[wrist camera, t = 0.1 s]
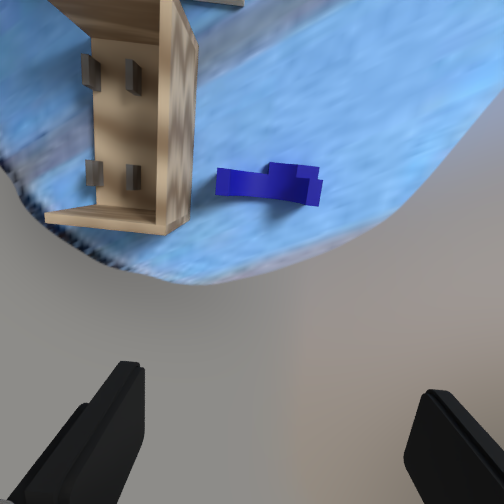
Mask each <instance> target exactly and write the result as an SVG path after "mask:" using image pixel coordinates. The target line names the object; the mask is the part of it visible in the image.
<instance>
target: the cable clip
mask: <svg viewBox="0 0 504 504" xmlns="http://www.w3.org/2000/svg"><path fill="white" fill-rule="evenodd" d="M318 173H319V167H314V166H305V165H296V164H284V163H274V162H270V163H269V171H268V174H262V173H254V172H246V171H238V170H232V169H224V168H217V179H216V192H215V195H222V196H252V197H262V198H271V199H278V200H285V201H291V202H296V203H301V204H304V205H309V206H318V207H319V201H320V195H321V189H322V183H323V180H319V179H318Z"/></svg>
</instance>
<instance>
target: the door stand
mask: <svg viewBox="0 0 504 504" xmlns="http://www.w3.org/2000/svg"><path fill="white" fill-rule="evenodd" d="M195 1H203V2H212V3H220V4H228V5H236V6H244V0H195Z"/></svg>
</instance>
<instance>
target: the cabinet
mask: <svg viewBox="0 0 504 504" xmlns="http://www.w3.org/2000/svg"><path fill="white" fill-rule="evenodd" d="M48 1H49V2H50V3H51V4H53V5H54V6H55V7H56V8H57V9H58V10H60V11H61V12H62V13H63V14H64V15H65V16H67V17H68V18H69V19H70V20H71V21H72V22H73V23H75V24H76V25H77V26H78V27H79V28H80V29H82V30H83V31H84V32H85V33H86V34H87V35H89V36H90V37H91V50H92V57H91V56H90V55H89V54H82V53H81V69H82V84H83V85H85V86H86V87H88V88H90V89H92V90H93V110H94V140H95V161H94V160H85V165H86V186H96V200H97V204H95V205H89V206H83V207H77V208H71V209H65V210H59V211H53V212H47V213H45V223H52V224H61V225H71V226H80V227H89V228H99V229H108V230H118V231H127V232H137V233H146V234H156V235H165V236H166V235H167V234H169V233H170V232H172V231H173V230H175V229H176V228H178V227H180V226H181V225H183V224H184V223H186V222H187V221H189V220H190V207H191V187H192V168H193V148H194V128H195V108H196V88H197V69H198V49H199V46H198V43H197V41H196V38H195V36H194V34H193V31H192V29H191V27H190V24H189V22H188V20H187V17H186V15H185V13H184V10H183V8H182V5H181V3H180V1H179V0H48Z"/></svg>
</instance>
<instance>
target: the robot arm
mask: <svg viewBox="0 0 504 504" xmlns="http://www.w3.org/2000/svg"><path fill="white" fill-rule="evenodd" d="M144 421H145V369H144V368H143V367H140V364H139V363H138V362H129V361H120V362H119V363H118V365H117V366H116V367H115V369H114V370H113V371H112V373H111V374H110V376H109V377H108V379H107V380H106V381H105V382H104V384H103V385H102V386H101V388H100V389H99V390H98V392H97V393H96V395H95V396H94V397H93V399H92V400H91V401H90V403H83V404H81V405H80V406H79V407H78V408H77V409H76V411H75V412H74V413H73V415H72V416H71V417H70V418H69V420H68V421H67V422H66V424H65V425H64V426H63V427H62V429H61V430H60V431H59V433H58V434H57V435H56V436H55V438H54V439H53V440H52V442H51V443H50V444H49V446H48V447H47V448H46V450H45V451H44V452H43V453H42V455H41V456H40V457H39V459H38V460H37V461H36V462H35V464H34V465H33V466H32V468H31V469H30V470H29V471H28V473H27V474H26V475H25V477H24V478H23V479H22V481H21V482H20V483H19V485H18V486H17V487H16V488H15V490H14V491H13V492H12V493H11V495H10V496H9V497H8V499H7V500H3V499H0V504H117V502H118V499H119V497H120V495H121V492H122V490H123V488H124V485H125V483H126V481H127V478H128V476H129V474H130V471H131V469H132V466H133V464H134V462H135V459H136V457H137V455H138V452H139V450H140V448H141V445H142V442H143V439H144V431H145V422H144ZM404 464H405V467H406V470H407V471H408V473H409V475H410V477H411V479H412V481H413V483H414V485H415V487H416V489H417V491H418V493H419V494H420V496H421V498H422V500H423V502H424V504H504V451H503V450H502V448H500V446H499V445H498V444H497V443H496V442H495V441H494V440H493V439H492V438H491V436H490V435H489V434H488V433H487V432H486V431H485V430H484V429H483V428H482V427H481V425H479V423H478V422H477V421H476V420H475V419H474V418H473V417H472V416H471V415H470V413H469V412H468V411H467V410H466V409H465V408H464V407H463V406H462V405H461V404H460V403H459V401H458V400H457V399H456V398H455V397H454V396H453V395H452V394H451V393H450V392H448V391H443V390H433V389H429V390H427V391H426V393H425V394H423V395H422V396H421V399H420V403H419V406H418V409H417V412H416V416H415V419H414V422H413V426H412V429H411V432H410V436H409V439H408V442H407V445H406V449H405V452H404Z"/></svg>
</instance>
